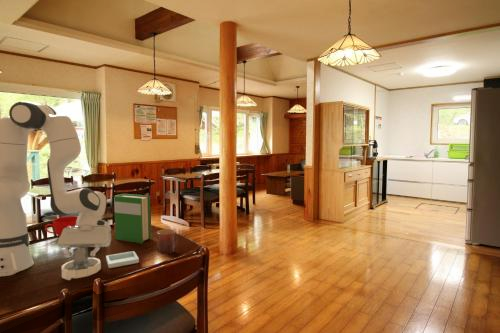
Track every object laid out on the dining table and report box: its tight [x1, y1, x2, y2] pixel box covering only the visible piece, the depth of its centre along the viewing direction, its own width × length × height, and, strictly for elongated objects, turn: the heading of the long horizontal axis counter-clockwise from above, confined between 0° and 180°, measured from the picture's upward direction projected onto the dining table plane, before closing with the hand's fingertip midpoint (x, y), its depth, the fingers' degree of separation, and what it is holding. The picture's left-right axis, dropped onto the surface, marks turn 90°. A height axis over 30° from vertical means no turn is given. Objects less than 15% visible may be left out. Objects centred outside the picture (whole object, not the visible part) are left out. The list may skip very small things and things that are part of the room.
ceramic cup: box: [44, 216, 78, 238], centre depth 174 cm, size 13×17×10 cm
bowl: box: [61, 257, 102, 281], centre depth 129 cm, size 14×14×4 cm
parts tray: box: [105, 250, 140, 269], centre depth 139 cm, size 12×11×2 cm
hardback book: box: [113, 193, 152, 244], centre depth 171 cm, size 18×7×24 cm, turn 69°
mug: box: [156, 228, 176, 255], centre depth 153 cm, size 12×9×10 cm
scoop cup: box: [72, 247, 89, 270], centre depth 129 cm, size 5×5×10 cm
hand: (80, 256), depth 128 cm, fingers open, 8 cm apart
